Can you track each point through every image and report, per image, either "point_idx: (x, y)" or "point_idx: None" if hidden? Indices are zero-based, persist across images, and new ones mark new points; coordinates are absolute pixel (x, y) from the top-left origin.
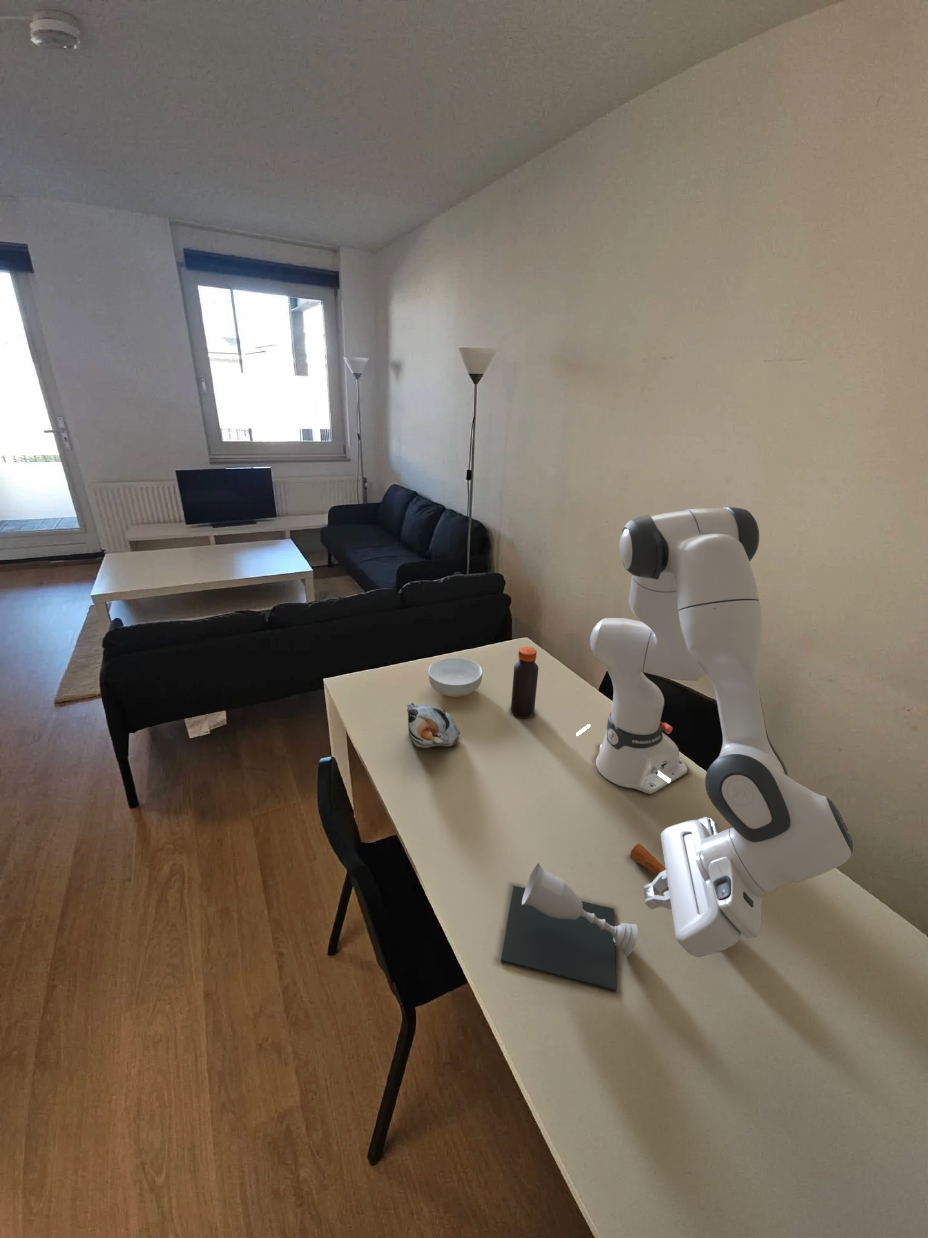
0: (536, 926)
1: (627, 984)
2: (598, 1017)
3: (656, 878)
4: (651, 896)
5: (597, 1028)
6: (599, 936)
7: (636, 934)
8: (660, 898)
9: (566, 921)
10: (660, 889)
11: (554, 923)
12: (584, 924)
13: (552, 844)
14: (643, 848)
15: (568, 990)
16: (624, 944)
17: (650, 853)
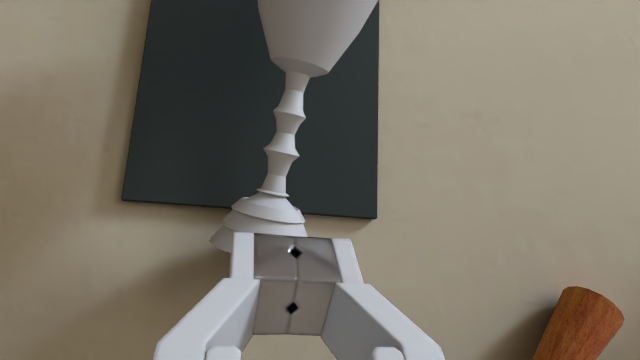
0: None
1: (150, 237)
2: (42, 145)
3: (388, 310)
4: (255, 263)
5: (10, 139)
6: None
7: None
8: (202, 316)
9: None
10: (337, 340)
11: None
12: (307, 129)
13: (534, 68)
14: (610, 330)
15: (110, 73)
16: (227, 218)
17: (599, 354)
